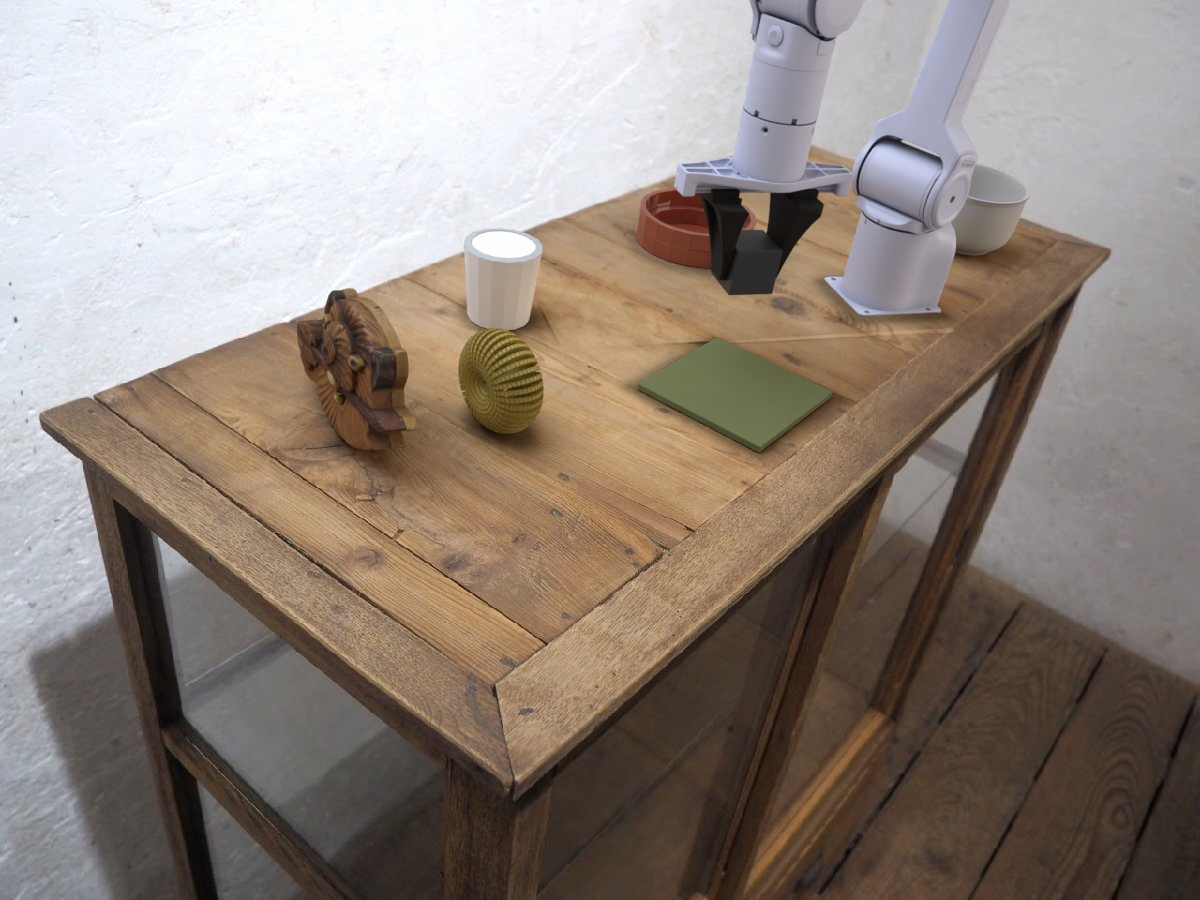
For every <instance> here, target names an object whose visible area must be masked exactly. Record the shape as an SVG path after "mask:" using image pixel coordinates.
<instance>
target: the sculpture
mask: <svg viewBox="0 0 1200 900" xmlns="http://www.w3.org/2000/svg"><path fill="white" fill-rule="evenodd" d="M538 363H539V362H538V360H537V358H536V356H535V354H534V352H533V351H532V349H531V348H530V346H529V345H528V344H527V343H526V342H525V340H524V339H522V338H521V337H520V336H519V335H517V334H515V333H514V332H512V331H511V330H505V329H500V328H499V329H498V328H489V329H487V328H484V329H482V330H480V331H478V332H476V333H475V334H473V335H472V336H471V337H469V339H468V340H467V342H465V344H464V346H463V347H462V350H461V352H460V355H459V359H458V365H457V372H458V375H457V376H458V383H459V388H460V391H461V395H462V397H464V398H463V400H464V402H465V403H466V407H467V408H468V409H469V411H470V413H471V415H472V416H473V417H474V418H475V419H476V420H477V421H478V422H479V424H481V425H482V426H483V427H485V428H486V429H488V430H490V431H492V432H494V433H498V434H503V435H506V434H508V435H510V434H515V433H516V434H517V433H519V432H522V431H523V430H526V429H527V428H528V427H530V426H531V425H532V424H533V423H534V421H535V420H536V419H537V418H538V416H539V415H540V412H541V409H542V408H543V407H542V405H543V403H544V401H543V400H544V397H545V395H544V392H545V388H544V387H545V386H544V379H543V373H542V371H540V370H541V366H540V365H538Z"/></svg>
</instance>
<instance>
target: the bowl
mask: <svg viewBox="0 0 1200 900" xmlns="http://www.w3.org/2000/svg"><path fill="white" fill-rule="evenodd" d="M741 205H742V206H743V207H744V208H745V209H746V210H747V211H748V212H749V216H748V218H747V219H746V221H745V223H744V226H743V228H742V230H756V229H757V228H756V227H757V223H758V221H757V218H756V214H755V212H753V211H752V210H751V209H750V208H749V206H747V205H745V204H744V203H741ZM635 240H636V241H637V242H638V244H639V245H640V247H641V248H643V249H644V250H646V251H648V252H649V253H650V254H651V255H653V256H655V257H658V258H660V259H662V260H665V261H667V262H670V263H675V264H677V265H678V264H679V265H682V266H686V267H693V268H701V269H711V249H710V238H709V231H708V225H707V220H706V216H705V212H704V209H703V205H702V202H701V199H700V196H699V193H695V195H694V196H682V195H681V194H680V193H679V192H678V191H677V189H676V188H675V187H668V188H662V189H656V190H653V191H651V192H649V193H646V194H645V195H644V196H643V197H642V198H641V199H640V201H639V207H638V213H637V221H636V226H635Z"/></svg>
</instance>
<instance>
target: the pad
mask: <svg viewBox="0 0 1200 900" xmlns="http://www.w3.org/2000/svg"><path fill="white" fill-rule="evenodd" d="M636 388H637V391H640V392H641V393H643V394H645V395H647V396H649V397H651V398H653V399H654V400H657V401H658V402H661V403H663V404H664V405H666V406H668V407H670V408H672V409H674V410H676V411H677V412H680V413H682V414H683V415H686V416H687V417H689V418H691V419H693V420H695V421H697V422H699V423H700V424H703V425H705V426H707V427H709V428H710V429H712V430H715V431H716V432H718V433H720V434H722V435H724V436H726V437H727V438H730V439H732V440H734V441H736V442H737V443H739V444H741V445H742V446H745V447H746V448H748V449H750V450H753V451H755V452H757V453H760V452H762V451H763V450H764V449H766V448H767V447H769V446H770V445H771V444H772V443H774V442H775V441H776V440H777V439H779V438H780V437H781V436H783V435H784V434H785V433H787V432H788V431H789V430H790V429H792V428H793V427H794V426H796V425H797V424H799V423H800V422H801V421H802V420H804V419H805V418H806V417H807V416H809V415H810V414H811V413H813V412H814V411H815V410H817V409H818V408H819V407H820V406H822V405H824V404H825V403H826V402H828V400H830V399H832V396H833V391H832V390H830V389H828V388H825V387H824V386H821V385H820V384H817V383H815V382H813V381H811V380H809V379H807V378H805V377H803V376H800V375H798V374H795V373H794V372H791V371H789V370H787V369H785V368H783V367H781V366H779V365H777V364H775V363H773V362H770V361H769V360H766V359H765V358H762V357H760V356H758V355H755V354H754V353H751V352H749V351H747V350H745V349H743V348H741V347H739V346H737V345H734V344H732V343H730V342H728V341H726V340H724V339H722V338H720V337H714V338H712V339H711V340H710V341H708V342H706V343H705V344H703V345H701V346H699V347H697V348H696V349H694V350H693V351H690V352H689V353H687V354H686V355H684V356H682V357H680V358H679V359H677V360H676V361H674V362H672V363H671V364H669V365H667V366H666V367H664V368H662V369H660V370H659V371H657V372H655V373H654V374H652V375H649V377H647V378H645V379H643V380H642V381H639V382H638V383H637V387H636Z"/></svg>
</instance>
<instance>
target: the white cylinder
mask: <svg viewBox="0 0 1200 900" xmlns="http://www.w3.org/2000/svg"><path fill="white" fill-rule="evenodd" d="M543 249H544V245H543V244H542V243H541V242H540V240H539V239H538V238H536V237H534V236H532V235H531V234H529V233H526V232H524V231H519V230H516V229H512V228H502V227H494V228H482V229H479V230H475V231H472V232H471V233H470V234H468V235H467V236H465V238H464V242H463V257H464V275H465V277H464V279H465V295H466V296H465V297H466V314H467V317H468V319H469V320H470V321H471V322H472V323H474V324H475V325H477V326H478V327H481V328H484V329H489V328H498V329H499V328H500V329H505V330H508V331H515V330H517V329H520V328H523V327H525V326H526V325H527V324H528V323H529V322H530V318H531V312H532V307H533V304H534V303H533V302H534V297H535V292H536V287H537V281H538V277H539V272H540V266H541V261H542V255H543Z"/></svg>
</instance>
